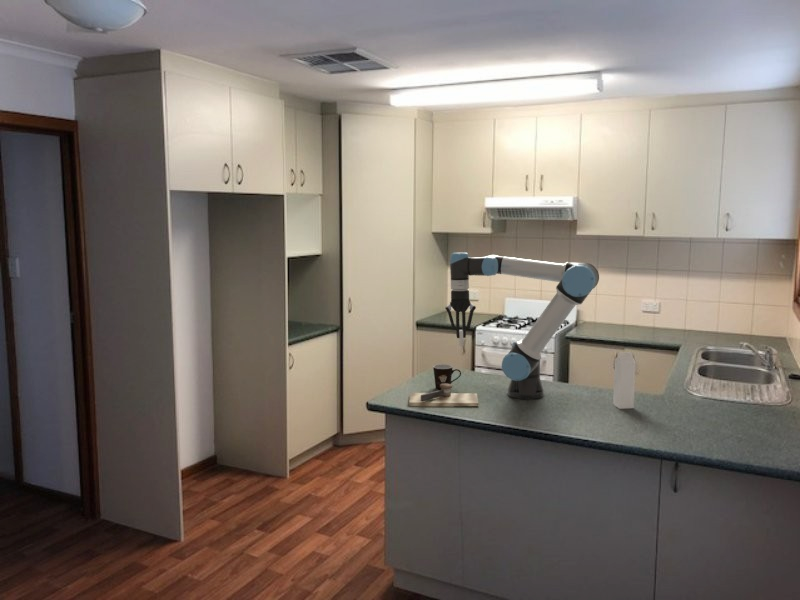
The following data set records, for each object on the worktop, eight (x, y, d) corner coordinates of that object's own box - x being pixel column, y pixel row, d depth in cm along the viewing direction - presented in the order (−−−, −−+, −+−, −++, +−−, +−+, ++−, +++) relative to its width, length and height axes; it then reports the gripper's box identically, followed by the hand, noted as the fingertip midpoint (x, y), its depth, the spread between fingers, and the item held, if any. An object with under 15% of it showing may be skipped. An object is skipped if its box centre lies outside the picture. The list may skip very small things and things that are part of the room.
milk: (633, 408, 258) (636, 354, 255) (619, 409, 258) (621, 354, 255) (627, 403, 264) (629, 350, 261) (612, 404, 264) (615, 351, 261)
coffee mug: (430, 389, 288) (429, 367, 286) (438, 385, 295) (438, 363, 294) (454, 392, 282) (454, 370, 281) (461, 388, 290) (461, 366, 288)
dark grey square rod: (454, 395, 272) (454, 385, 272) (426, 403, 262) (426, 392, 261) (446, 392, 276) (446, 382, 276) (417, 400, 265) (417, 390, 265)
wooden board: (476, 396, 276) (476, 393, 276) (478, 406, 262) (478, 402, 262) (410, 396, 278) (410, 392, 278) (409, 405, 264) (409, 402, 264)
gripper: (444, 291, 267) (446, 347, 270) (476, 290, 267) (477, 346, 269) (443, 289, 274) (445, 344, 277) (474, 288, 274) (475, 343, 277)
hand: (461, 345), depth 273 cm, fingers closed
